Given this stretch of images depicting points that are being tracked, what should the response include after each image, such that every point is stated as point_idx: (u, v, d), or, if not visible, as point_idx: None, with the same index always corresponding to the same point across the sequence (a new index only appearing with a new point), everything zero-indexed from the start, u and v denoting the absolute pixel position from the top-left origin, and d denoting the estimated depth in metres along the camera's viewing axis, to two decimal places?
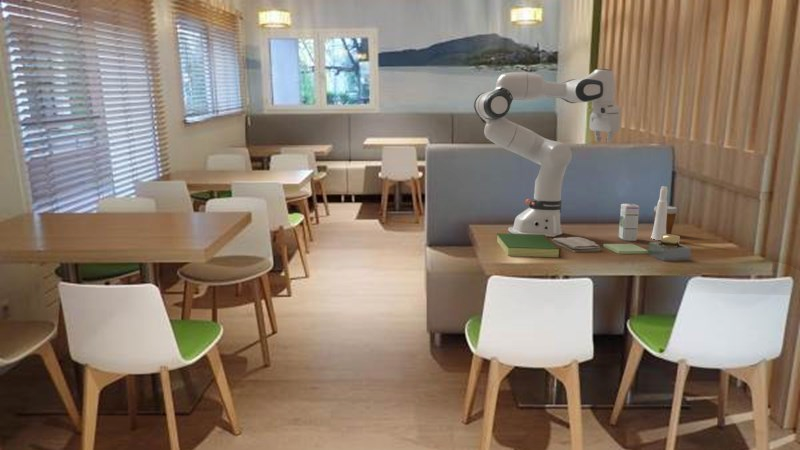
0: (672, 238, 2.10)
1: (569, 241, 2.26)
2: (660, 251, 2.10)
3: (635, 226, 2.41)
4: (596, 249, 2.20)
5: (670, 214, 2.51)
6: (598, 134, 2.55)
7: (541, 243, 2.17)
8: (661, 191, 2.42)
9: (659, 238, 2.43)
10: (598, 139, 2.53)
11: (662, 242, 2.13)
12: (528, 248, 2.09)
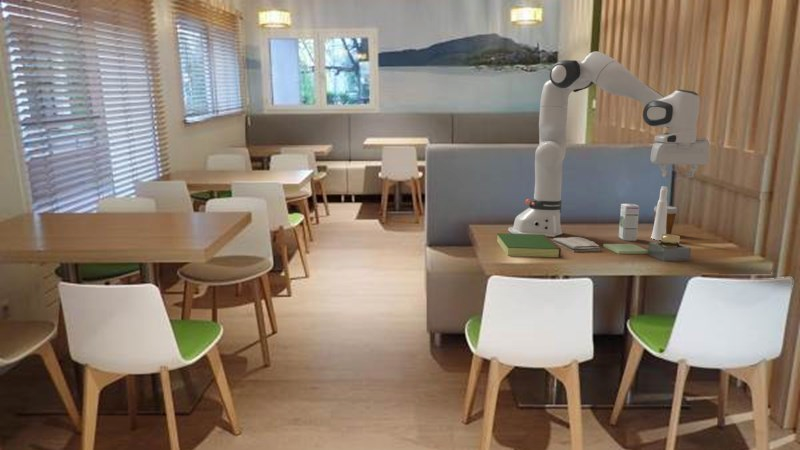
0: (672, 238, 2.10)
1: (569, 241, 2.26)
2: (660, 251, 2.10)
3: (635, 226, 2.41)
4: (596, 249, 2.20)
5: (670, 214, 2.51)
6: (693, 168, 2.09)
7: (541, 243, 2.16)
8: (661, 191, 2.42)
9: (659, 238, 2.43)
10: (687, 174, 2.09)
11: (662, 242, 2.13)
12: (528, 248, 2.09)
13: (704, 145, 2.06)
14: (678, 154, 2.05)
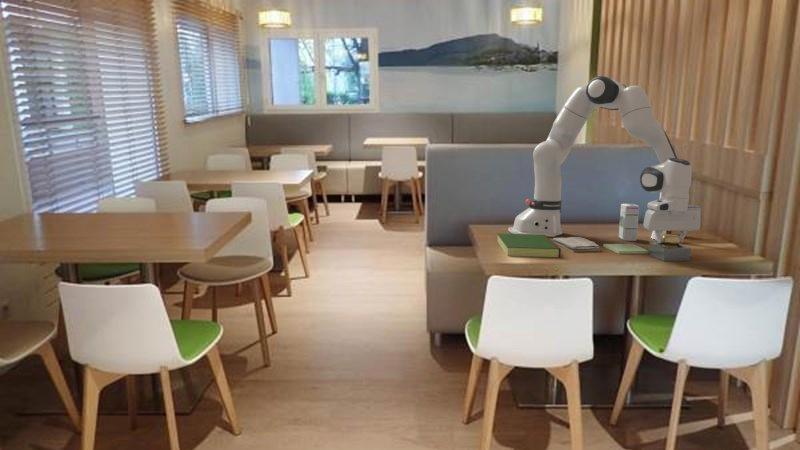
0: (672, 238, 2.10)
1: (569, 241, 2.26)
2: (660, 251, 2.10)
3: (635, 226, 2.41)
4: (595, 249, 2.20)
5: None
6: (683, 234, 2.13)
7: (541, 243, 2.16)
8: None
9: None
10: None
11: None
12: (528, 248, 2.09)
13: (696, 212, 2.10)
14: (670, 221, 2.10)
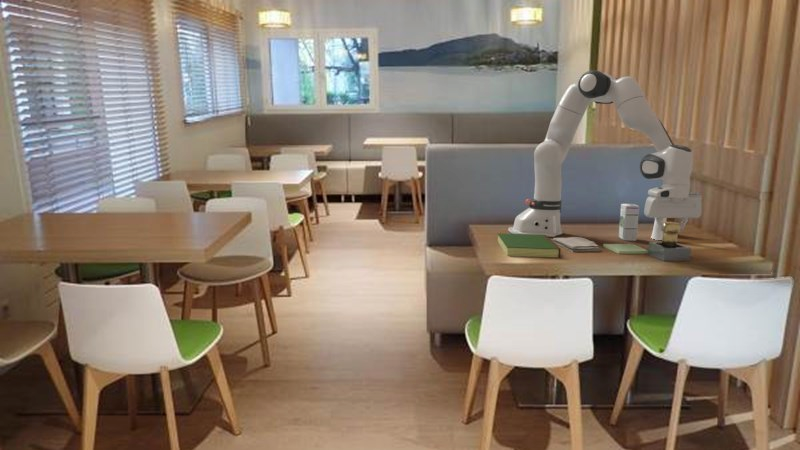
0: (673, 225, 2.09)
1: (568, 241, 2.26)
2: (660, 251, 2.10)
3: (635, 226, 2.41)
4: (595, 249, 2.20)
5: None
6: (683, 222, 2.12)
7: (541, 243, 2.16)
8: None
9: (659, 238, 2.43)
10: None
11: None
12: (527, 248, 2.09)
13: (697, 200, 2.09)
14: (671, 208, 2.09)
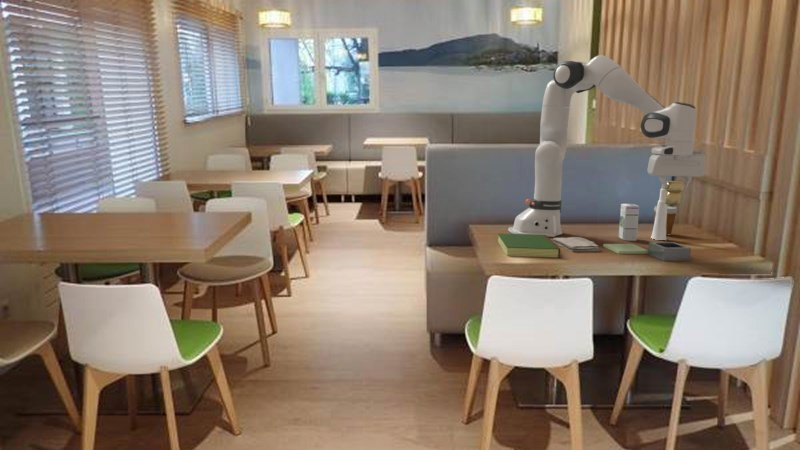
0: (677, 183, 2.07)
1: (568, 241, 2.26)
2: (660, 251, 2.10)
3: (635, 226, 2.41)
4: (594, 249, 2.20)
5: (670, 214, 2.51)
6: (687, 180, 2.10)
7: (541, 243, 2.16)
8: (661, 191, 2.42)
9: (659, 238, 2.43)
10: None
11: None
12: (527, 248, 2.09)
13: (701, 158, 2.07)
14: (675, 166, 2.06)
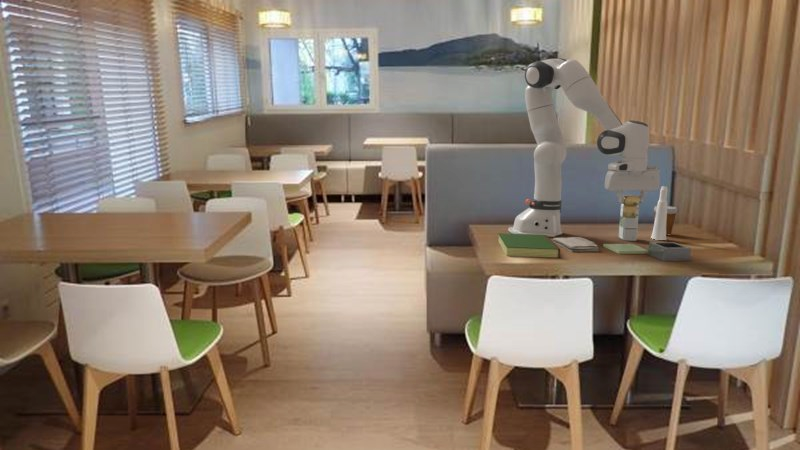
0: (632, 197, 2.18)
1: (568, 241, 2.26)
2: (660, 251, 2.10)
3: (635, 226, 2.41)
4: (594, 249, 2.20)
5: (670, 214, 2.51)
6: (642, 194, 2.21)
7: (541, 243, 2.16)
8: (661, 191, 2.42)
9: (659, 238, 2.43)
10: None
11: None
12: (527, 248, 2.09)
13: (655, 173, 2.18)
14: (630, 181, 2.17)
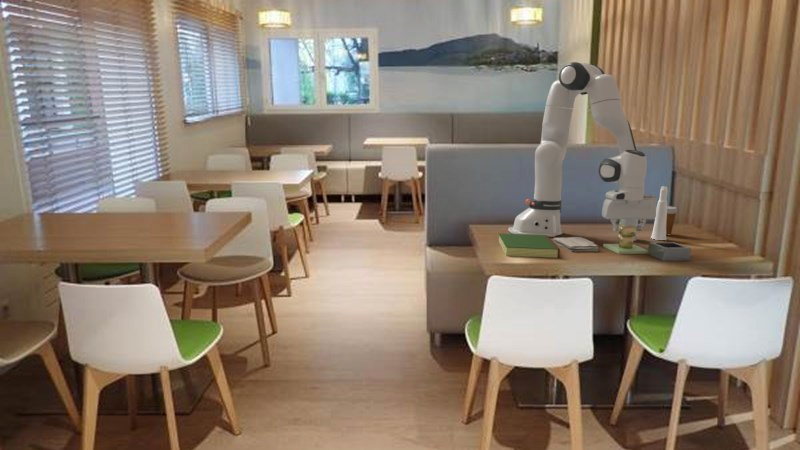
0: (629, 229, 2.20)
1: (568, 241, 2.27)
2: (660, 251, 2.10)
3: (635, 226, 2.41)
4: (594, 249, 2.20)
5: (670, 214, 2.51)
6: (642, 223, 2.23)
7: (541, 243, 2.16)
8: (661, 191, 2.42)
9: (659, 238, 2.43)
10: (637, 227, 2.24)
11: (619, 232, 2.23)
12: (527, 248, 2.09)
13: (652, 202, 2.20)
14: (627, 210, 2.19)
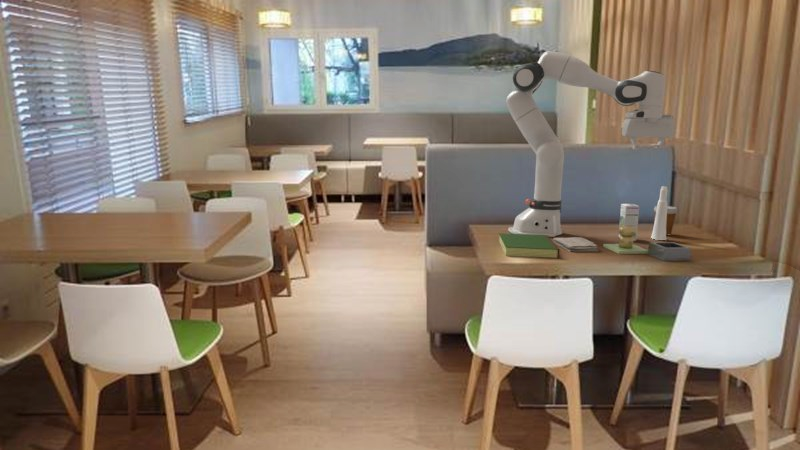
0: (628, 229, 2.20)
1: (567, 241, 2.27)
2: (660, 251, 2.10)
3: (635, 226, 2.41)
4: (593, 249, 2.20)
5: (670, 214, 2.51)
6: (660, 142, 2.34)
7: (541, 243, 2.16)
8: (661, 191, 2.42)
9: (659, 238, 2.43)
10: (655, 147, 2.35)
11: (619, 232, 2.23)
12: (526, 248, 2.09)
13: (670, 121, 2.31)
14: (646, 128, 2.30)
